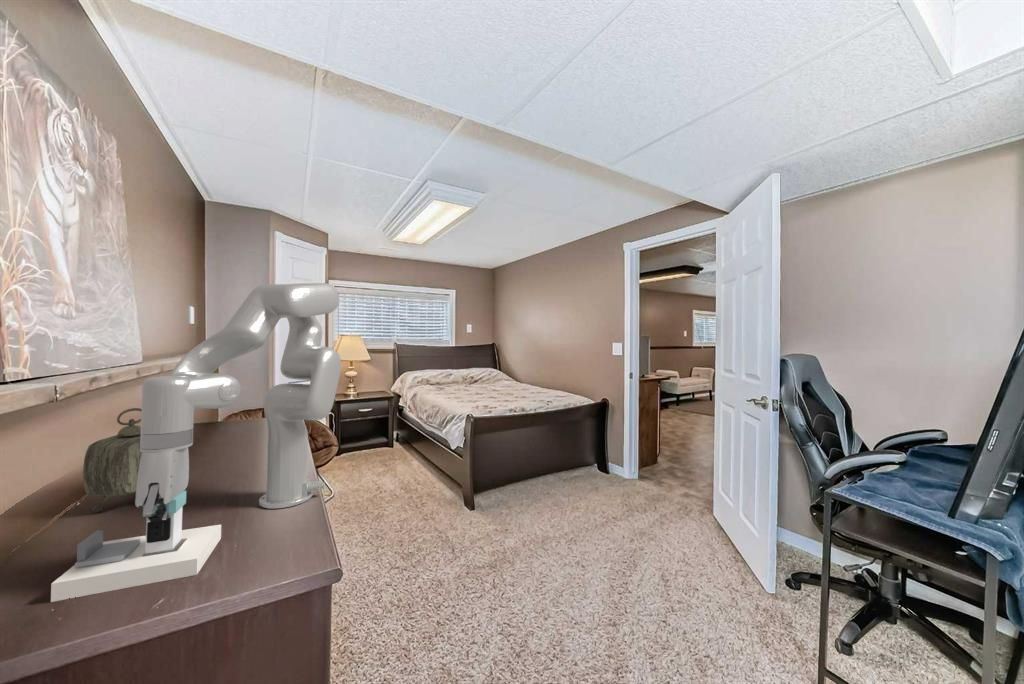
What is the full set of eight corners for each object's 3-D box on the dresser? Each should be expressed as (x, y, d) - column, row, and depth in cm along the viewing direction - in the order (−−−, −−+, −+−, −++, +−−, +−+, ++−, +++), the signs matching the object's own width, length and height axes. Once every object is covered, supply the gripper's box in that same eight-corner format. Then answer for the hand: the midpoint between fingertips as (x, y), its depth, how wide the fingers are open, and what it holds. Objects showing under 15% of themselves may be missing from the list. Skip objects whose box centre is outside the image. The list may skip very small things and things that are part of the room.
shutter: (140, 543, 73) (140, 523, 73) (122, 560, 67) (123, 539, 67) (97, 549, 70) (97, 529, 70) (74, 568, 65) (75, 546, 65)
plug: (153, 542, 73) (155, 493, 73) (184, 538, 75) (186, 490, 75) (141, 555, 68) (143, 503, 69) (174, 549, 70) (176, 499, 71)
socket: (221, 538, 81) (221, 524, 81) (196, 574, 68) (197, 558, 68) (102, 557, 73) (103, 541, 73) (50, 602, 61) (51, 583, 61)
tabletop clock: (142, 492, 105) (144, 403, 105) (173, 493, 105) (175, 404, 105) (81, 515, 91) (84, 413, 91) (117, 516, 90) (120, 414, 91)
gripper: (162, 432, 78) (159, 520, 78) (116, 453, 63) (112, 562, 62) (206, 429, 81) (204, 514, 81) (173, 449, 66) (170, 553, 66)
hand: (164, 534), depth 72 cm, fingers closed on plug, 4 cm apart
